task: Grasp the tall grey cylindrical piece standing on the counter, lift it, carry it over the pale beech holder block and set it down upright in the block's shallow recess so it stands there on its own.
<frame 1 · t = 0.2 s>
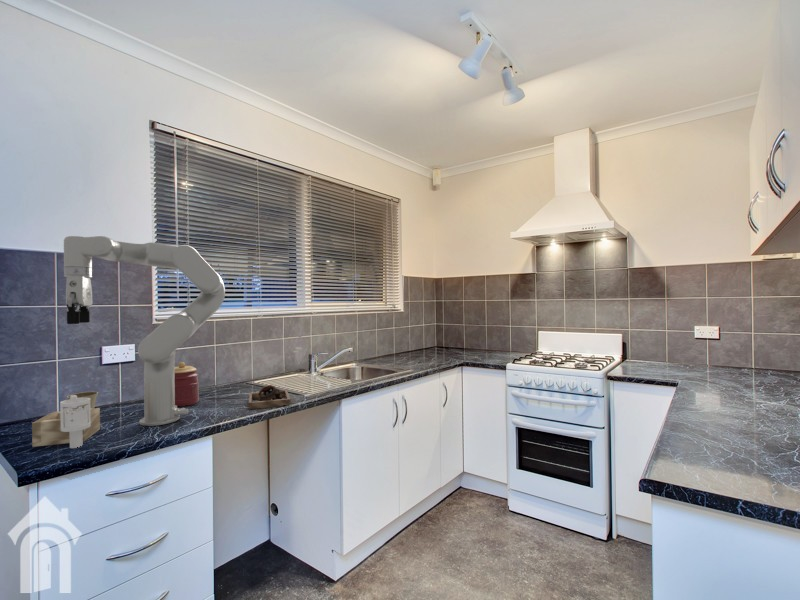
hand: (78, 323, 137), 36 cm above the counter, tool pointing down, fingers open, 9 cm apart
flower pot: (83, 417, 152), on the counter
canister: (182, 403, 171), on the counter
dark brown rounded lump: (269, 402, 171), resting in walnut trivet frame
grey cylindrical piece: (76, 447, 121), on the counter
beech holder block: (68, 437, 129), on the counter
walnut trivet frame: (269, 402, 171), on the counter
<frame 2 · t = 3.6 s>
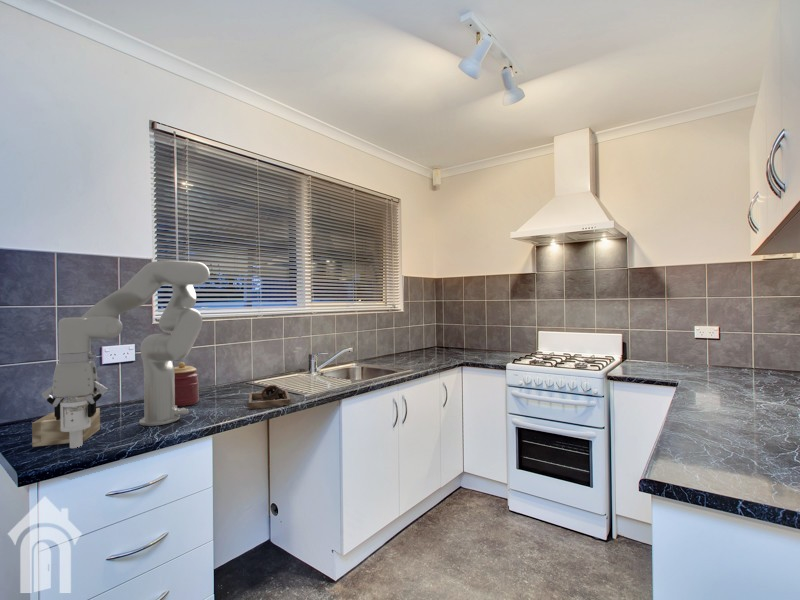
hand: (75, 417, 120), 9 cm above the counter, tool pointing down, fingers closed on grey cylindrical piece, 7 cm apart
dark brown rounded lump: (272, 402, 172), resting in walnut trivet frame
grey cylindrical piece: (76, 447, 120), on the counter, touching gripper
everything else where it was.
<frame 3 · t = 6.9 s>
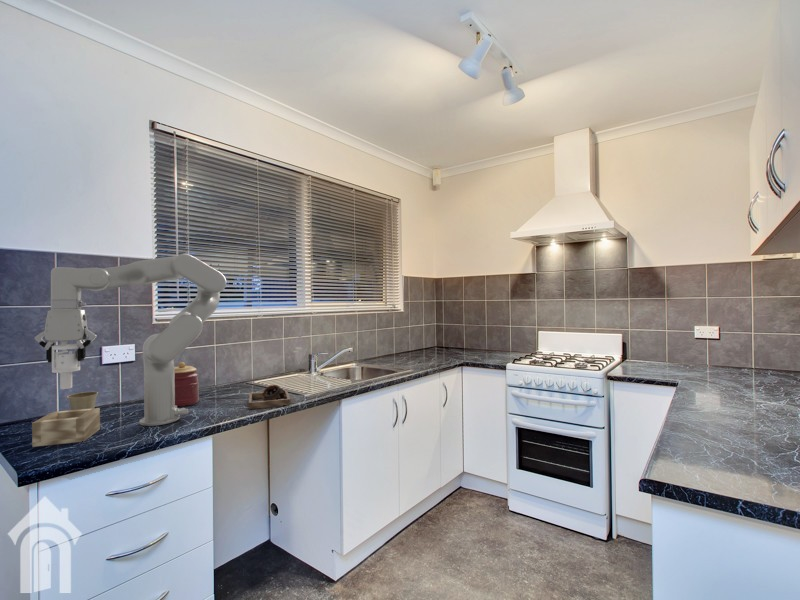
hand: (66, 360, 129), 25 cm above the counter, tool pointing down, fingers closed on grey cylindrical piece, 7 cm apart
grey cylindrical piece: (66, 388, 129), point 16 cm above the counter, touching gripper
everything else where it was.
when the fingers open (10 cm above the counter, at t = 10.4 s): grey cylindrical piece stays where it is, resting on beech holder block.
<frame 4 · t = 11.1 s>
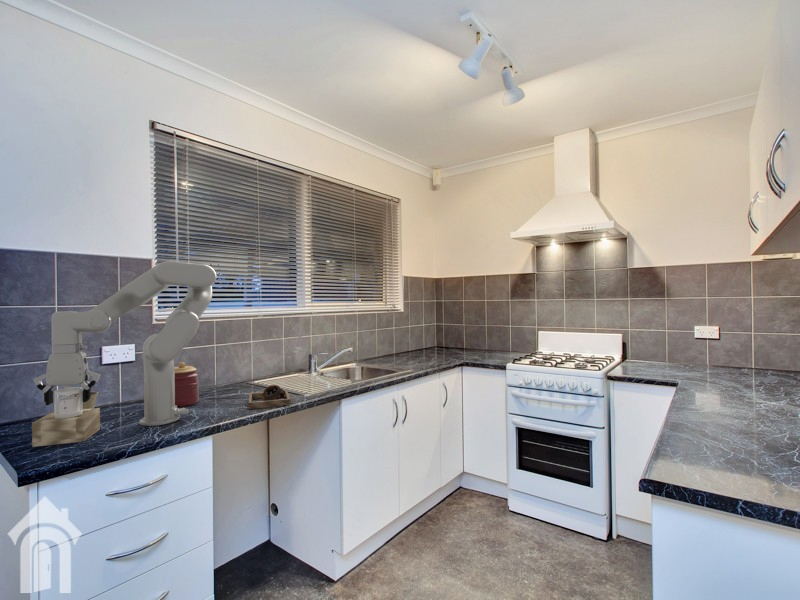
hand: (67, 402, 129), 11 cm above the counter, tool pointing down, fingers open, 9 cm apart
grey cylindrical piece: (69, 433, 129), point 1 cm above the counter, touching beech holder block
everything else where it was.
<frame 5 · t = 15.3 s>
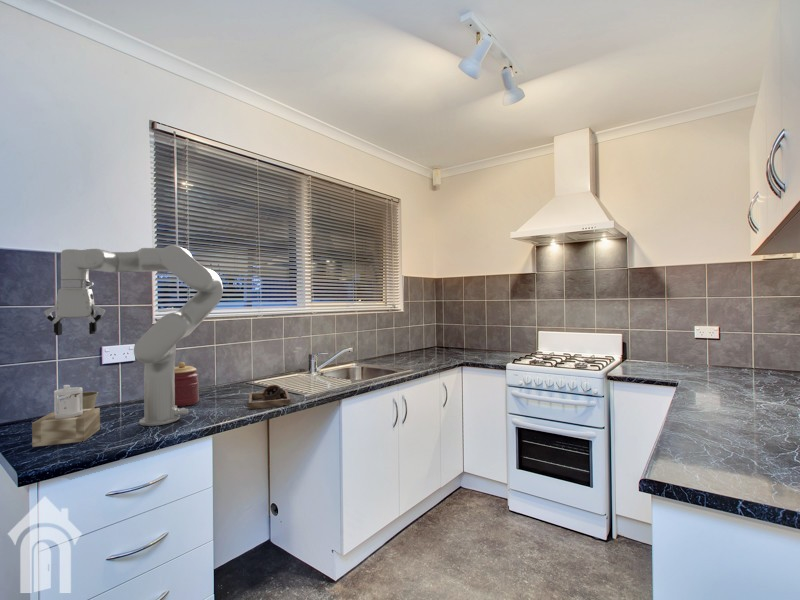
hand: (75, 334, 140), 32 cm above the counter, tool pointing down, fingers open, 9 cm apart
nothing on the counter moved.
at the end: grey cylindrical piece 0.2 cm off-centre on the beech holder block, point 1.3 cm above the beech holder block's base; grey cylindrical piece tilted 0°; the gripper is holding nothing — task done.
